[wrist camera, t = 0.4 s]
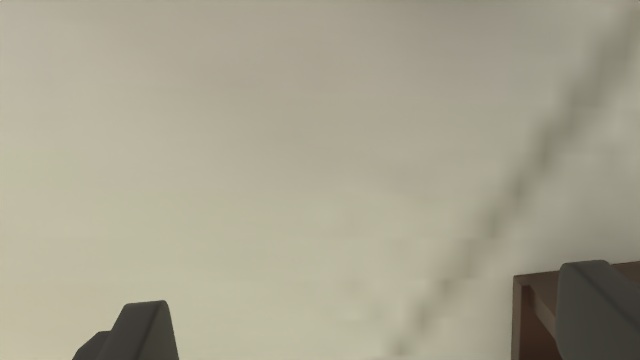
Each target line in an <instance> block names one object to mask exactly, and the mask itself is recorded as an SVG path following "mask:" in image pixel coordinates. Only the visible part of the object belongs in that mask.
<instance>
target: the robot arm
mask: <svg viewBox="0 0 640 360" xmlns="http://www.w3.org/2000/svg"><path fill="white" fill-rule="evenodd" d="M554 332H555V340H556V345H557V348H558V351H559V353H560V355H561V357H562V359H563V360H640V284H639V283H637V282H635V281H633V282H631V281H629V280H628V279H627V278H626V277H625V276H623V275H622V274H621V273H620V272H619V271H617V270H616V269H615V268H614V267H613V266H611V265H610V264H609V263H608V262H606V261H604V260H593V261H582V262H571V263H565V264H563V265H562V266H561V268H560V271H559V278H558V290H557V302H556V315H555V327H554ZM72 360H179V357H178V352H177V347H176V342H175V336H174V331H173V326H172V321H171V316H170V311H169V307H168V305H167V303H166V301H164V300H161V301H150V302H140V303H129V304H126V305H125V306H124V307H123V309H122V311H121V313H120V315H119V317H118V318H117V320H116V322H115V324H114V326H113V328H112V330H111V331H102V332H98V333H97V334H96V335H95V336H93V337H92V338H91V339H90V340H89V341H88V342H86V343H85V344H84V345H83V346H82V347H81V348H79V349H78V351H77V352H76V354H75V356H74V357H73V359H72Z"/></svg>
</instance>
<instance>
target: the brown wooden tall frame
mask: <svg viewBox="0 0 640 360" xmlns="http://www.w3.org/2000/svg"><path fill="white" fill-rule="evenodd" d="M611 266H613V267H614V268H615V269H616V270H617V271H619V272H620V273H621V274H622V275H623V276H625V277H626V278H627V279H628V280H629V281H631V282H633V281H635V282H637V283H639V284H640V262H631V263H623V264H614V265H611ZM558 278H559V271H553V272H545V273H536V274H527V275H519V276H514V287H513V319H512V350H511V360H563V359H562V357H561V355H560V353H559V351H558V348H557V345H556V340H555V332H554V327H555V315H556V302H557V290H558Z"/></svg>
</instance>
